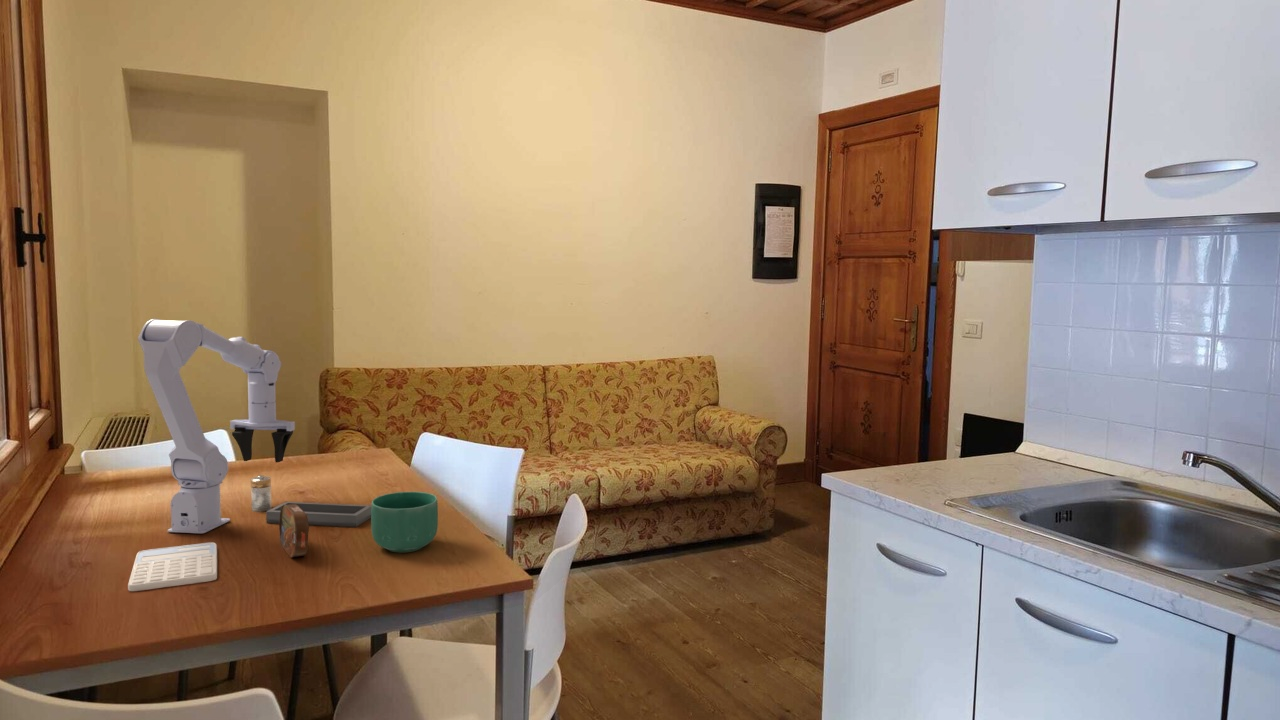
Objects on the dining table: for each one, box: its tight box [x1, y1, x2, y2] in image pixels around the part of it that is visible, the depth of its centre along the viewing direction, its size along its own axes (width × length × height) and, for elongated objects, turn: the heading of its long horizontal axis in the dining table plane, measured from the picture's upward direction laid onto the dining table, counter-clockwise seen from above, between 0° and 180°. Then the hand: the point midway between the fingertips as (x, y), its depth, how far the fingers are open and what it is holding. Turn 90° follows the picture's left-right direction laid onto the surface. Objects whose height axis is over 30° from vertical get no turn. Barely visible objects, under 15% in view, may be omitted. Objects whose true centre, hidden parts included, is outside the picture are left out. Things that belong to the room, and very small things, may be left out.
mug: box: [370, 491, 439, 553], centre depth 164 cm, size 17×13×10 cm
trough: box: [265, 501, 371, 528], centre depth 180 cm, size 8×20×2 cm, turn 84°
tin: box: [278, 504, 310, 559], centre depth 159 cm, size 15×3×8 cm, turn 34°
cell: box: [250, 474, 272, 512], centre depth 187 cm, size 4×4×8 cm
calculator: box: [127, 542, 218, 592], centre depth 149 cm, size 13×20×2 cm, turn 27°
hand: (263, 460), depth 191 cm, fingers open, 7 cm apart
